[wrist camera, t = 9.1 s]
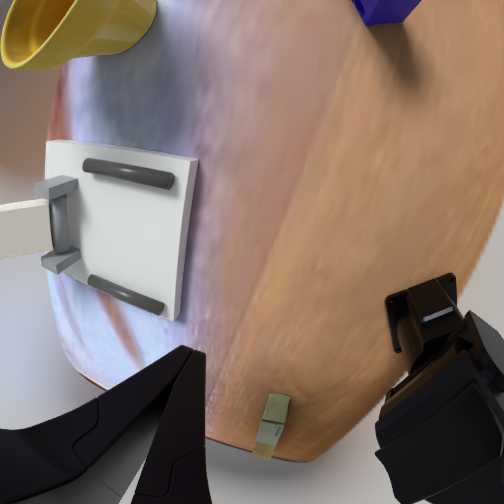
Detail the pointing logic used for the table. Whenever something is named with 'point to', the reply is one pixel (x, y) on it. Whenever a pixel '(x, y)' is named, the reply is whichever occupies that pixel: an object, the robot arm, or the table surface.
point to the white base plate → (122, 220)
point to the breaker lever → (34, 227)
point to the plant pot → (71, 30)
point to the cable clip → (384, 10)
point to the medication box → (271, 425)
